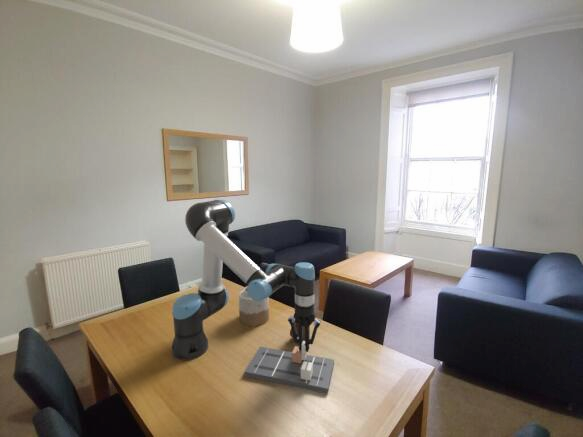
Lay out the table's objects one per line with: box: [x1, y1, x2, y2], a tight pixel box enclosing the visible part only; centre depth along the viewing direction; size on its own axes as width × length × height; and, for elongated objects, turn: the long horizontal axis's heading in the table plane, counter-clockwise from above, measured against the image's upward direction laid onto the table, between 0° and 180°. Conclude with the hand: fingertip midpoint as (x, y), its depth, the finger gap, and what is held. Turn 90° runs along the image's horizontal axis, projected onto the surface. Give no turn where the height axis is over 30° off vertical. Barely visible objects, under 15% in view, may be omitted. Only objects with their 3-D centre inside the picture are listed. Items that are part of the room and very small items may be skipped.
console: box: [243, 346, 335, 394], centre depth 115 cm, size 32×16×2 cm, turn 74°
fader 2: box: [301, 361, 313, 380], centre depth 108 cm, size 4×4×4 cm
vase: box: [238, 285, 270, 327], centre depth 151 cm, size 15×15×17 cm
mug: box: [289, 320, 305, 344], centre depth 132 cm, size 12×8×9 cm, turn 148°
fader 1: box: [291, 345, 302, 363], centre depth 117 cm, size 4×4×4 cm
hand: (304, 357), depth 117 cm, fingers closed
